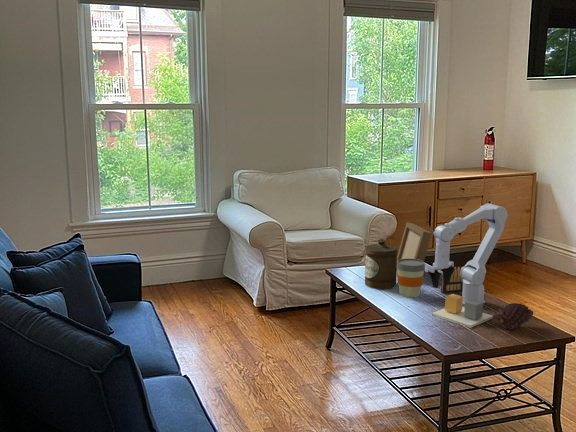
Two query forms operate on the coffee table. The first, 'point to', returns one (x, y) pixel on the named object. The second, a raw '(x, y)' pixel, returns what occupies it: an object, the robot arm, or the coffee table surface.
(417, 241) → the photo frame
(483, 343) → the coffee table surface
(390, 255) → the wooden container
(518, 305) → the pine cone
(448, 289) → the ammunition clip
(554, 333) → the coffee table surface
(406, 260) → the reusable coffee cup
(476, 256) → the robot arm
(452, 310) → the amber foam cube
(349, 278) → the coffee table surface
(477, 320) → the board
